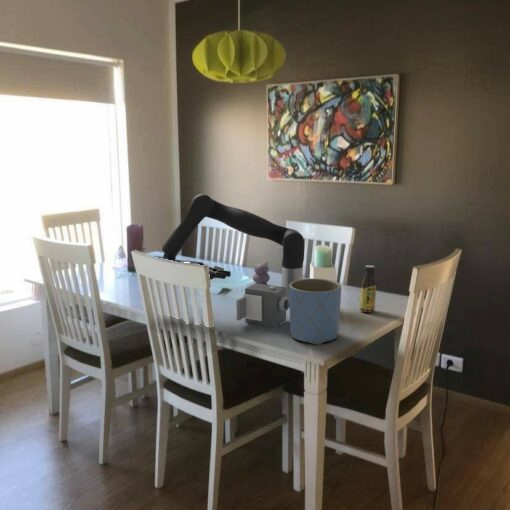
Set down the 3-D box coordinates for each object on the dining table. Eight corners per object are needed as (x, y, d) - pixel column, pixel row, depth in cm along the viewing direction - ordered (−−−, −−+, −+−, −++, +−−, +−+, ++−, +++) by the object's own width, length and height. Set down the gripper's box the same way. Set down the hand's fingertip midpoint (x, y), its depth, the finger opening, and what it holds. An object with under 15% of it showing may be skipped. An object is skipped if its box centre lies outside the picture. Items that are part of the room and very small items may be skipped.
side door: (236, 322, 217) (236, 297, 215) (244, 317, 222) (244, 293, 220) (254, 325, 213) (254, 300, 211) (262, 320, 219) (262, 296, 217)
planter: (308, 324, 220) (309, 275, 216) (349, 335, 208) (351, 284, 204) (278, 337, 206) (278, 285, 202) (320, 350, 194) (321, 295, 190)
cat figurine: (256, 289, 270) (256, 265, 267) (250, 285, 277) (250, 262, 275) (272, 287, 273) (272, 264, 271) (266, 283, 280) (266, 260, 278)
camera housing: (245, 322, 223) (244, 286, 220) (255, 315, 231) (255, 281, 228) (282, 328, 215) (282, 292, 212) (291, 321, 223) (292, 286, 220)
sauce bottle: (367, 314, 232) (368, 268, 227) (356, 310, 237) (358, 265, 233) (378, 312, 235) (380, 266, 231) (367, 308, 240) (369, 263, 236)
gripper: (181, 264, 218) (218, 269, 210) (200, 258, 230) (236, 262, 222) (181, 283, 220) (218, 288, 212) (201, 275, 232) (236, 280, 224)
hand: (227, 275), depth 217 cm, fingers open, 3 cm apart
